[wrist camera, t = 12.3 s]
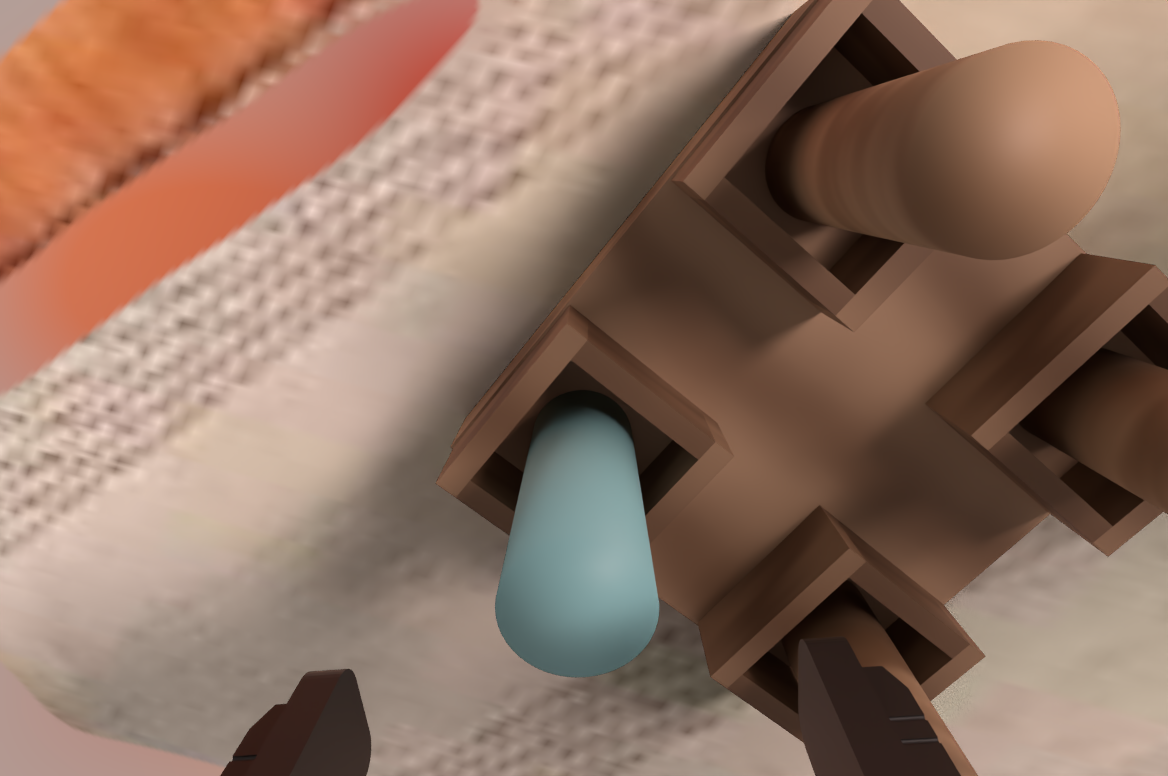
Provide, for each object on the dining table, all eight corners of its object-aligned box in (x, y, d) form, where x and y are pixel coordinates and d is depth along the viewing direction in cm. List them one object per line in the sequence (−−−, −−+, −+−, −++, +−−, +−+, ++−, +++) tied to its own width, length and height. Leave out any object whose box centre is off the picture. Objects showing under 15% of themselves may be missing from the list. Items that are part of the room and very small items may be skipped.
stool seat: (793, 12, 22) (1044, -191, 10) (1141, 355, 26) (1645, 521, 13) (465, 418, 27) (357, 624, 15) (797, 661, 31) (936, 993, 18)
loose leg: (527, 395, 23) (484, 545, 14) (628, 385, 23) (653, 531, 14) (539, 486, 25) (507, 683, 15) (635, 477, 24) (664, 671, 15)
